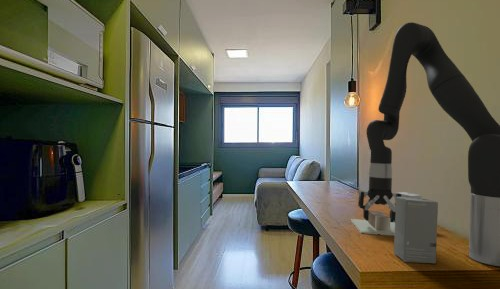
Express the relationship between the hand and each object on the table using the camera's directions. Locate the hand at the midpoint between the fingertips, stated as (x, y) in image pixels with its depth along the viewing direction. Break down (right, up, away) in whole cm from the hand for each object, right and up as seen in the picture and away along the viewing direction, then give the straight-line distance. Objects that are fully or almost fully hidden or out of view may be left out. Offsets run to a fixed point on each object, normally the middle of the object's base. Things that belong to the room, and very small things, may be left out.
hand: (379, 221), depth 108 cm
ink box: (+14, -3, +8) cm, 17 cm away
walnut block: (+1, 0, +6) cm, 6 cm away
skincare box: (-3, -3, -29) cm, 29 cm away
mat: (0, -3, +1) cm, 3 cm away
